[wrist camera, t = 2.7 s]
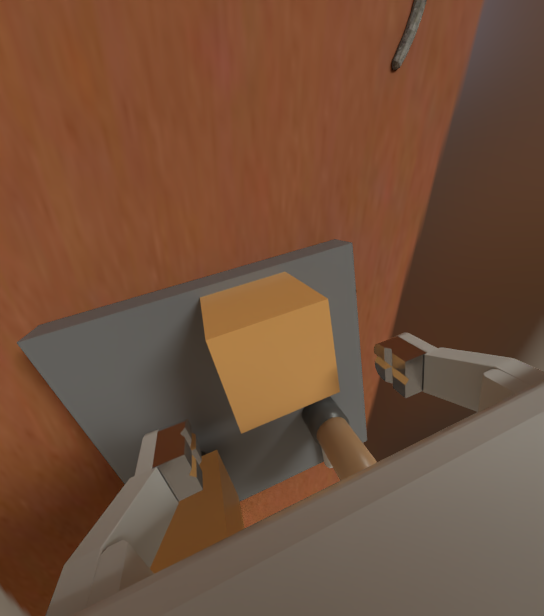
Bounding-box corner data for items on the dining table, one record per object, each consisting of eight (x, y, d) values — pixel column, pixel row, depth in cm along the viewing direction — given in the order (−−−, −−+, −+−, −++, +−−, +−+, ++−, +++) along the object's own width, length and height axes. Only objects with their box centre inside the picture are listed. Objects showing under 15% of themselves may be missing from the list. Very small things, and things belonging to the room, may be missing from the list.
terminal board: (39, 325, 13) (-168, 485, 6) (335, 239, 17) (461, 264, 9) (167, 509, 21) (154, 687, 13) (353, 423, 24) (432, 524, 17)
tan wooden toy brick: (199, 297, 14) (205, 340, 9) (285, 271, 14) (328, 298, 10) (226, 369, 16) (241, 433, 11) (299, 343, 17) (339, 391, 12)
